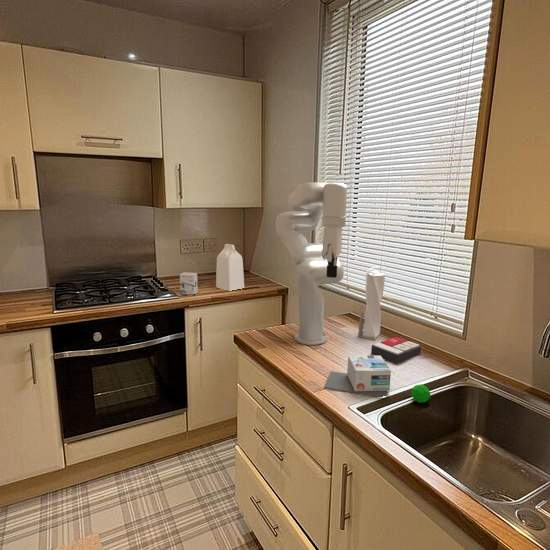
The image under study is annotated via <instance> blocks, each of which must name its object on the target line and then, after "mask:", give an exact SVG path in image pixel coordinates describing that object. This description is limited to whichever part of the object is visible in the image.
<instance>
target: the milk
mask: <svg viewBox="0 0 550 550" xmlns="http://www.w3.org/2000/svg"><path fill="white" fill-rule="evenodd" d="M215 273H216V278H215V279H216V280H215V281H216V282H215V288H216V287H217V288H220V289H224V290H228V291H232V290H237V289H241V290H243V289H242V288H245V277H244V276H245V275H244V262H243V256H242V255H241V254H240V253H239V252H238V251H237V250H236V248H235V244H231V243H230V244H229V243H225V244H224V247H223V249H222V250H221V251H220V253H218V255H217V257H216V272H215ZM237 291H238V290H237Z"/></svg>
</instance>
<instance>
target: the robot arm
mask: <svg viewBox="0 0 550 550" xmlns="http://www.w3.org/2000/svg"><path fill="white" fill-rule="evenodd" d="M347 194H348V187H347V185H346V184H345V183H344V182H343V183H342V182H320V181H319V182H314V181H313V182H304V183H301V184H298V185H297V186H296V188H295V191H292V193H290V194H289V197H288V200H287V203H288V204H287V205H288V206H289V208H290V209H291V210H292V211H284V212H281V213H279V214H278V215H277V216H276V219H275V228H276V233H277V235H278V238H279V239H280V241H281V242H282V243H283V244H284V245H285V247H287V249H288V252H289V253H290V255H291V258H292V260H293V261H294V263H295V265H297V268H296V275H297V279H298V280H297V281H298V291H299V292H298V293H299V294H298V332H297V333H295V334H294V337H293V338H294V341H296V342H297V343H300V344H302V345H308V346H316V345H317V346H319V345H321V344H325V343H326V342H327V340H328V338H327V335H326V334H324V309H325V306H324V305H325V296H324V293H323V291H322V289H320V288H319V286H321V285H334V284H338V283H340V282H341V281H342V280H343V278H344V275H345V274H344V273H345V272H344V267H343V264H342V262H341V261H340V259H339V255H340V254H341V252H342V242H343V241H342V240H343V228H345V227H346V220H347V219H346V217H347V201H348V200H347V198H348V195H347ZM321 216H322V219H321ZM320 219H321V221H322V222H321V227H323V235H322V243H321V242H317V243H314V242H313V243H310V242H308V239H307V238H306V237H305V236H304V235H303V234H302V233H300V232H312V231H314V230H316V228H317V227H318V224H319V221H320Z"/></svg>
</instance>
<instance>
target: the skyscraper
mask: <svg viewBox="0 0 550 550" xmlns="http://www.w3.org/2000/svg"><path fill="white" fill-rule="evenodd" d="M376 268H378V270H372V269H376ZM370 270H372V271H371V272H369V271H370ZM380 270H381V267H380V266H376V265H375V266H372V267H370V268H369V269H368V270H367V271H366V274H365V301H366V303H365V304H366V308H365V314H364V315H363V313H364V311H363V309H361V310H360V316H359V322H358V323H359V324H358V334H357V338H360V339H365V340H369V341H376V340H377V339H378V337H380V335H381V323H382V322H381V303H382V299H383V295H384V288H385V280H386V273H384V272H380ZM363 307H364V306H361V308H363Z"/></svg>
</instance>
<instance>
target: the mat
mask: <svg viewBox="0 0 550 550" xmlns="http://www.w3.org/2000/svg"><path fill="white" fill-rule="evenodd" d="M323 388H324V389H326V390H332V391H338V392H343V393H349V394H355V395H361V396H366V397H368V396H369V397H372V398H377V397H383V396H386V395H387V396H388V391H355V390H354V388H353V386H352V384H351V382H350V379H349V377H348V375H347V372H340V371H333V370H330V373H329V374H328V377H327V379H326V381H325V384H324V386H323ZM385 398H386V399H387V397H385Z"/></svg>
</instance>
